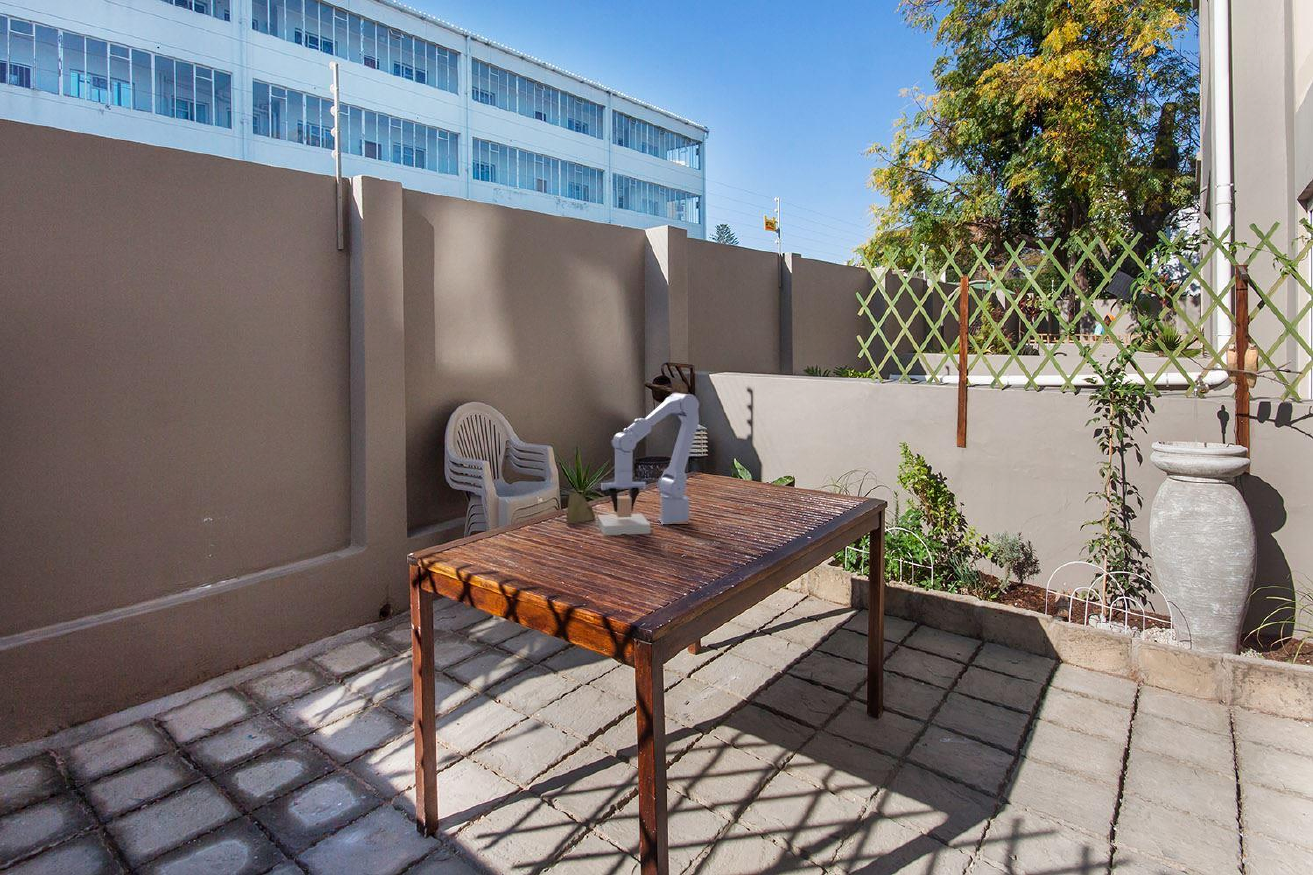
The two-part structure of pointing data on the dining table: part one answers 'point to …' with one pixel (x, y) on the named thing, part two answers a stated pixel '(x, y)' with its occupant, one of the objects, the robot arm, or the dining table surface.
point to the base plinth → (623, 524)
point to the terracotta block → (624, 506)
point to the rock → (578, 509)
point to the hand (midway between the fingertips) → (623, 510)
